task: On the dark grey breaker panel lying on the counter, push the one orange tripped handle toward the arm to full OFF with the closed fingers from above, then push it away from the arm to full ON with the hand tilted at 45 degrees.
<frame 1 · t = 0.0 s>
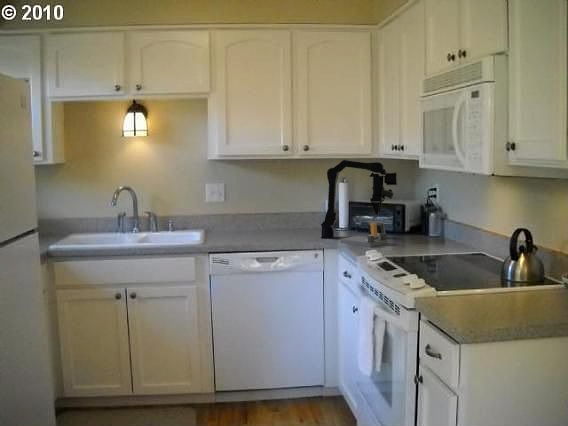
hand: (377, 213, 310), 15 cm above the worktop, tool pointing down, fingers open, 9 cm apart
tripped breaker: (374, 231, 296), point 7 cm above the worktop, hinge at -6.0°
electrical switch: (376, 237, 319), on the worktop
breaker panel: (363, 243, 301), on the worktop
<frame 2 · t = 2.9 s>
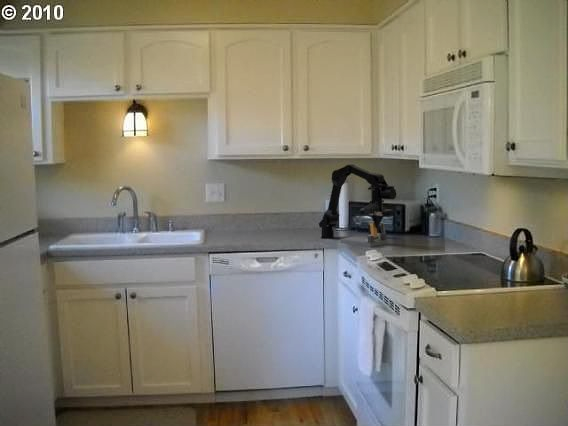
hand: (376, 228, 294), 9 cm above the worktop, tool pointing down, fingers closed
tripped breaker: (373, 231, 296), point 7 cm above the worktop, hinge at -7.6°, touching gripper
everything else where it was.
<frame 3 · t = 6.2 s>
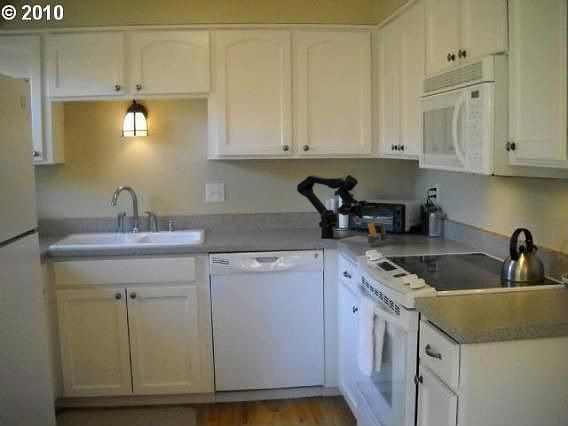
hand: (361, 218, 301), 13 cm above the worktop, tool tilted 45°, fingers closed
tripped breaker: (372, 231, 296), point 7 cm above the worktop, hinge at -19.4°
everything else where it was.
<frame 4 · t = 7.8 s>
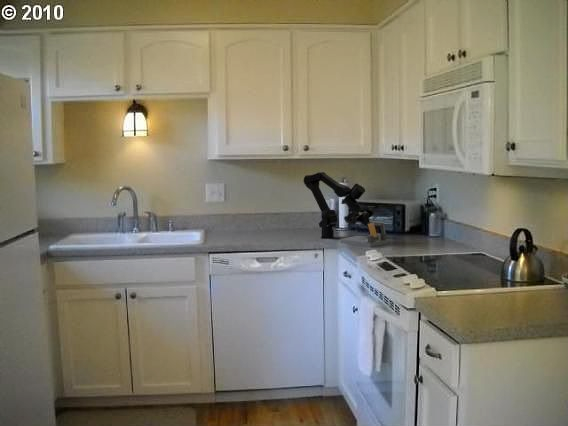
hand: (369, 227, 297), 9 cm above the worktop, tool tilted 45°, fingers closed, pressing on tripped breaker
tripped breaker: (372, 231, 296), point 7 cm above the worktop, hinge at -18.8°, touching gripper
everything else where it was.
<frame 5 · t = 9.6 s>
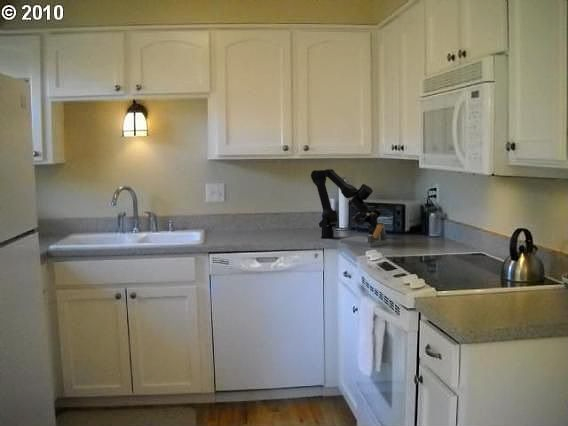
hand: (377, 228, 294), 9 cm above the worktop, tool tilted 45°, fingers closed, pressing on tripped breaker
tripped breaker: (377, 232, 294), point 7 cm above the worktop, hinge at 27.7°, touching gripper
everything else where it was.
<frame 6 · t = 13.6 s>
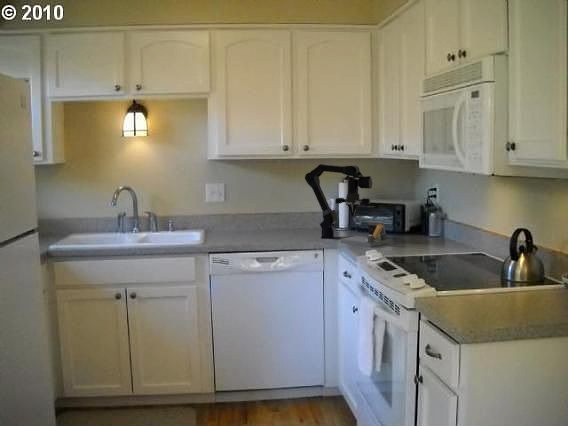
hand: (352, 216, 311), 13 cm above the worktop, tool pointing down, fingers closed
tripped breaker: (377, 232, 294), point 7 cm above the worktop, hinge at 27.7°
everything else where it was.
at the end: tripped breaker at +28° (first picture: -6°); electrical switch moved 0.3 cm from its start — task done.
